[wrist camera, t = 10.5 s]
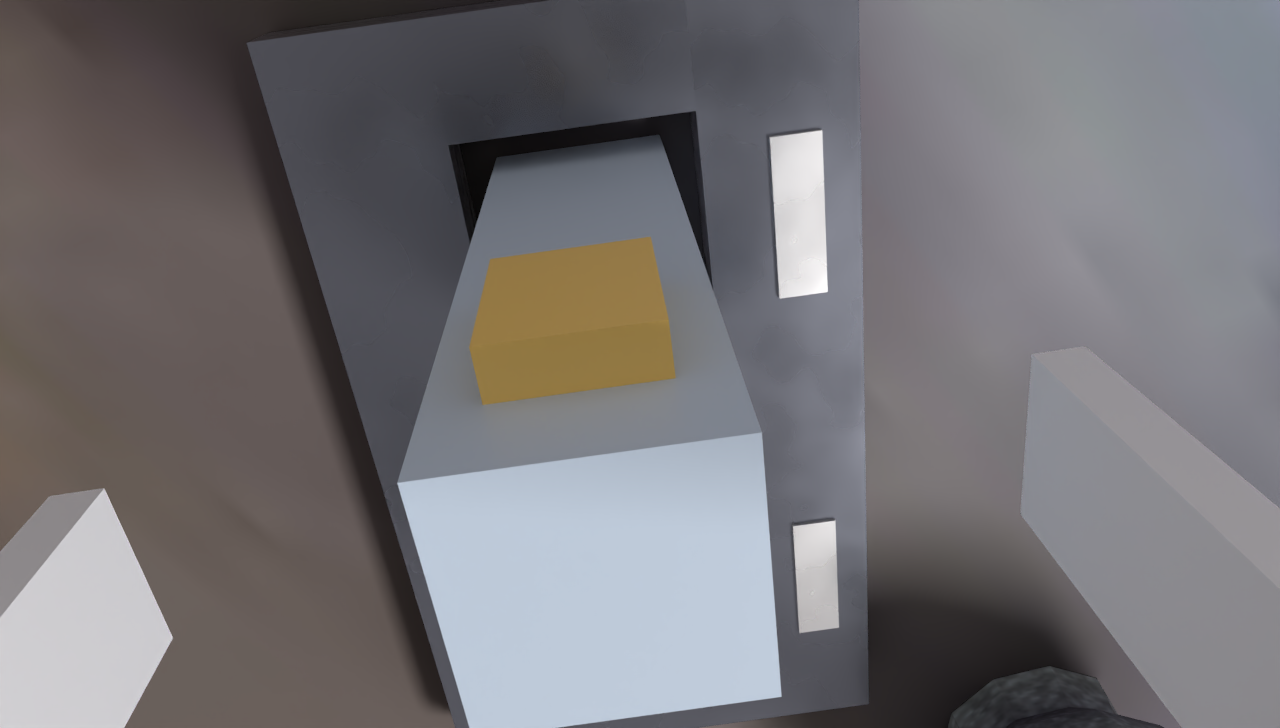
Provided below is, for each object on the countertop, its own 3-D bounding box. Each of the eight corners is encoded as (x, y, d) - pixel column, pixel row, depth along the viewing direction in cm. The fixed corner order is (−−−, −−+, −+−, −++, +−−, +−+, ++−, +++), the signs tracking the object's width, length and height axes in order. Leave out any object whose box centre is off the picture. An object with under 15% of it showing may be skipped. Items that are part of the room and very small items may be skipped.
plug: (526, 306, 24) (472, 739, 12) (490, 124, 22) (379, 420, 10) (676, 285, 24) (781, 696, 12) (655, 101, 22) (756, 367, 10)
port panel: (855, 666, 31) (869, 706, 29) (470, 720, 31) (464, 762, 29) (838, -47, 21) (859, -43, 19) (268, 32, 21) (244, 43, 19)
